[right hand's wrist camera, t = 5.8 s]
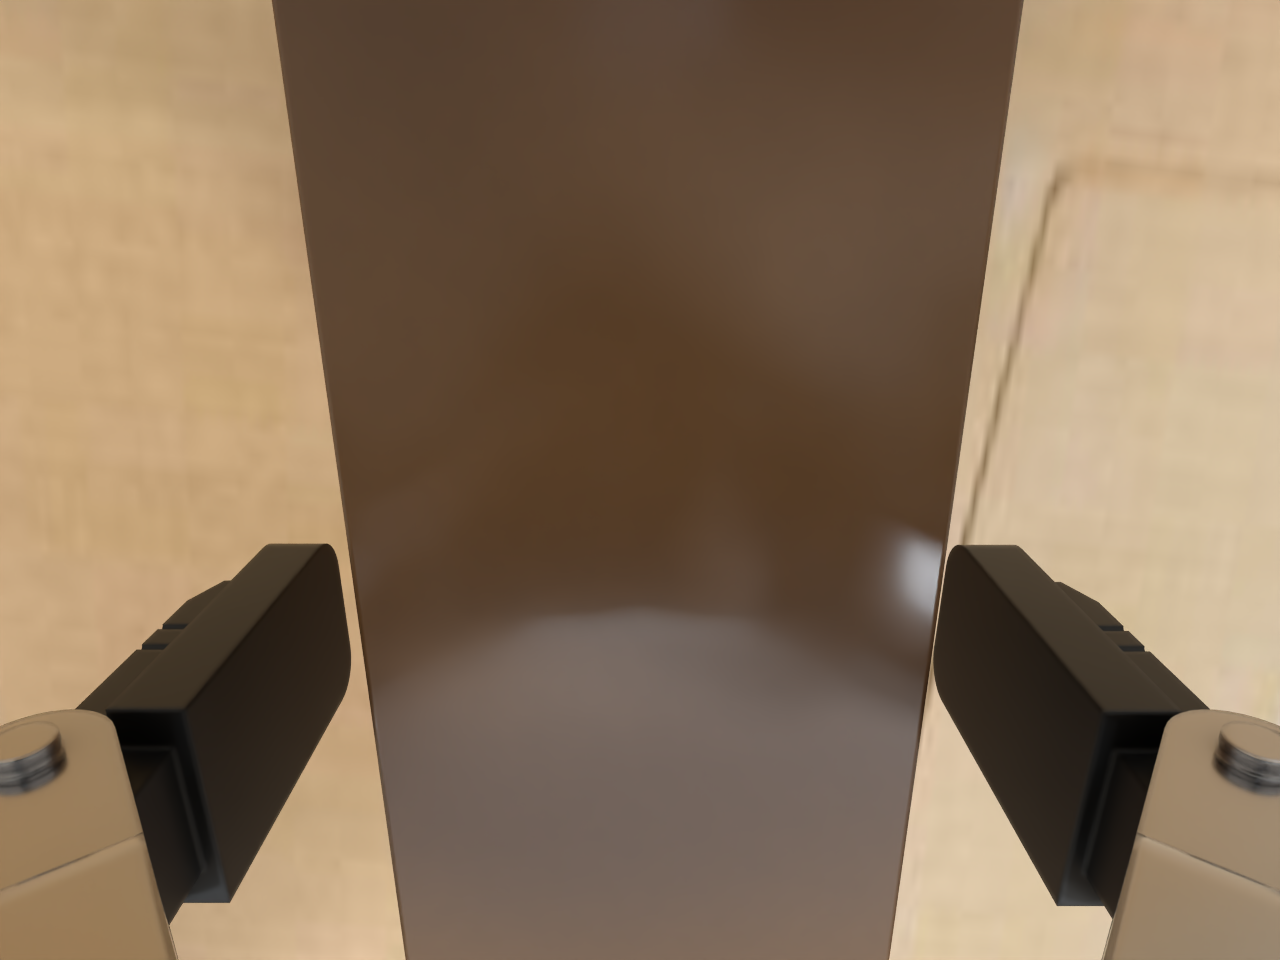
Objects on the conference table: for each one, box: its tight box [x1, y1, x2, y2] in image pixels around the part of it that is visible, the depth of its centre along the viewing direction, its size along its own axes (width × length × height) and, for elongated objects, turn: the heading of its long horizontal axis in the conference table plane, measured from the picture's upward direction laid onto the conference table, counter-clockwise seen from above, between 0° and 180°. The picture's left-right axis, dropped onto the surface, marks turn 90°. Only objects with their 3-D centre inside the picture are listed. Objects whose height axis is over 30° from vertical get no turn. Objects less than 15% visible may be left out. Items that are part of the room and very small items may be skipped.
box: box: [272, 0, 1023, 960], centre depth 12 cm, size 22×6×12 cm, turn 0°
